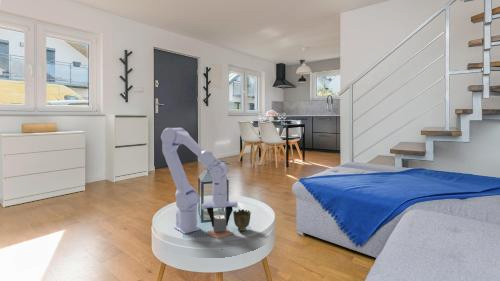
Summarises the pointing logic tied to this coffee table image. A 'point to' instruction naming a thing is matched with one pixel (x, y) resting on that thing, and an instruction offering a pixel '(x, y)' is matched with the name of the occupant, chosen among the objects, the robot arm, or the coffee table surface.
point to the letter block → (219, 223)
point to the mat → (219, 233)
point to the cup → (242, 219)
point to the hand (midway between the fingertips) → (219, 225)
